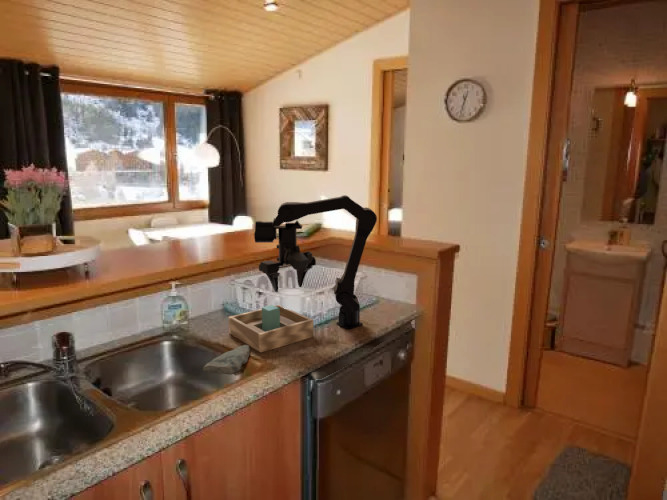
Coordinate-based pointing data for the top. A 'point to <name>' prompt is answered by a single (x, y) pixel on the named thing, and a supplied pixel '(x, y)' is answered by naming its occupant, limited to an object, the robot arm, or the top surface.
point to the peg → (270, 318)
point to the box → (252, 334)
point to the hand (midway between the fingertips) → (288, 289)
